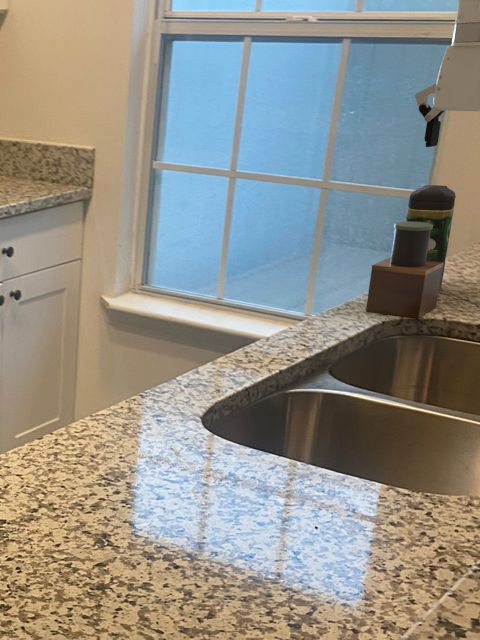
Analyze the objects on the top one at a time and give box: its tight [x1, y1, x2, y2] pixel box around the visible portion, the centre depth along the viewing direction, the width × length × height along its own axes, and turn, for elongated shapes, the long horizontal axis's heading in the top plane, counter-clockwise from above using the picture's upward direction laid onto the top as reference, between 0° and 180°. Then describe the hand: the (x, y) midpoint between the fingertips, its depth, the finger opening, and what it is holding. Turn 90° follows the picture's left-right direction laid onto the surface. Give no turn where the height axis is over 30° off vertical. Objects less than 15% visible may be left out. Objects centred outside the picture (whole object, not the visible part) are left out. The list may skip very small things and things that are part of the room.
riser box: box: [365, 256, 444, 319], centre depth 178 cm, size 9×9×8 cm
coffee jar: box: [405, 184, 457, 289], centre depth 191 cm, size 10×8×19 cm
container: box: [390, 221, 433, 267], centre depth 175 cm, size 6×6×7 cm
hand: (459, 147), depth 172 cm, fingers open, 9 cm apart
